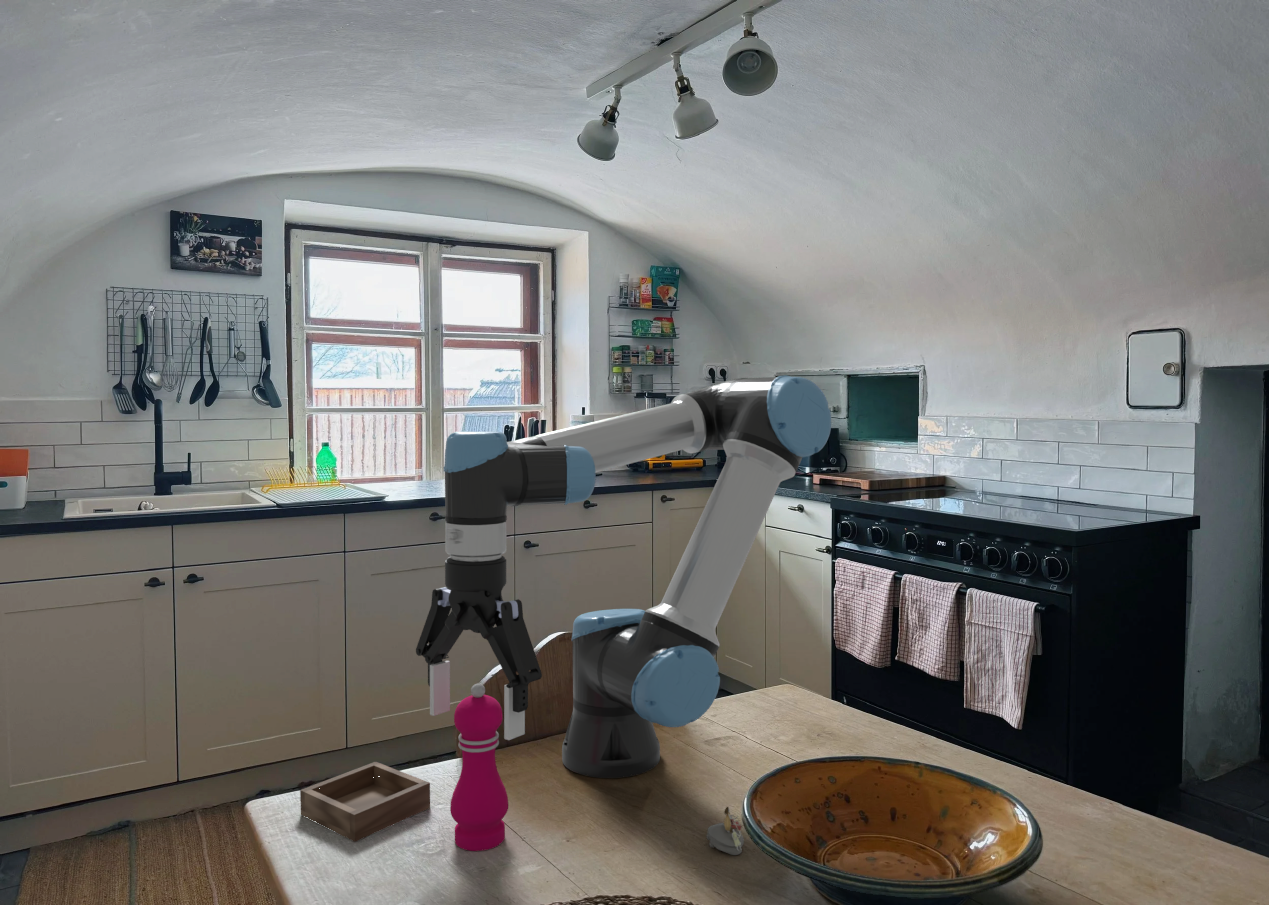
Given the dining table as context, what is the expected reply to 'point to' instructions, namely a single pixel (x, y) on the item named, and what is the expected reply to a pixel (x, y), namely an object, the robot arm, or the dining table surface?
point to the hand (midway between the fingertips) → (475, 724)
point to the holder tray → (365, 800)
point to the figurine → (726, 835)
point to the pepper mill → (479, 774)
